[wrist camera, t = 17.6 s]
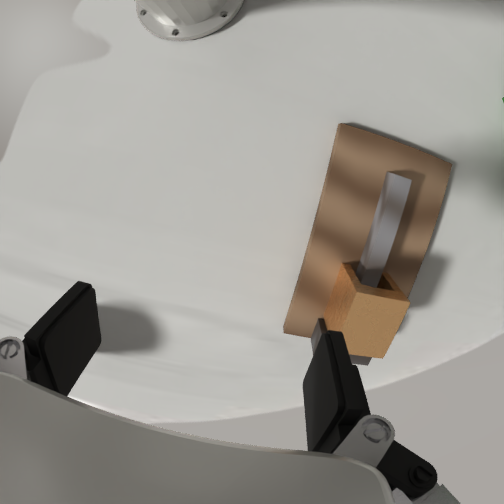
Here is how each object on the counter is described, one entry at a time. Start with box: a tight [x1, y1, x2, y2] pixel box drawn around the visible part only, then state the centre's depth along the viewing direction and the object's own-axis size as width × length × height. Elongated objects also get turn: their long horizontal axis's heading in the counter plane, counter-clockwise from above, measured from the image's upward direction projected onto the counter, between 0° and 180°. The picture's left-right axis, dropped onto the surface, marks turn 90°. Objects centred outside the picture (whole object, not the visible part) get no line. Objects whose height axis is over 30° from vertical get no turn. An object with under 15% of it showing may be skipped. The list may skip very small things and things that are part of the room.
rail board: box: [283, 123, 452, 365], centre depth 31 cm, size 25×14×6 cm, turn 168°
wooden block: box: [323, 263, 410, 358], centre depth 31 cm, size 7×6×7 cm
